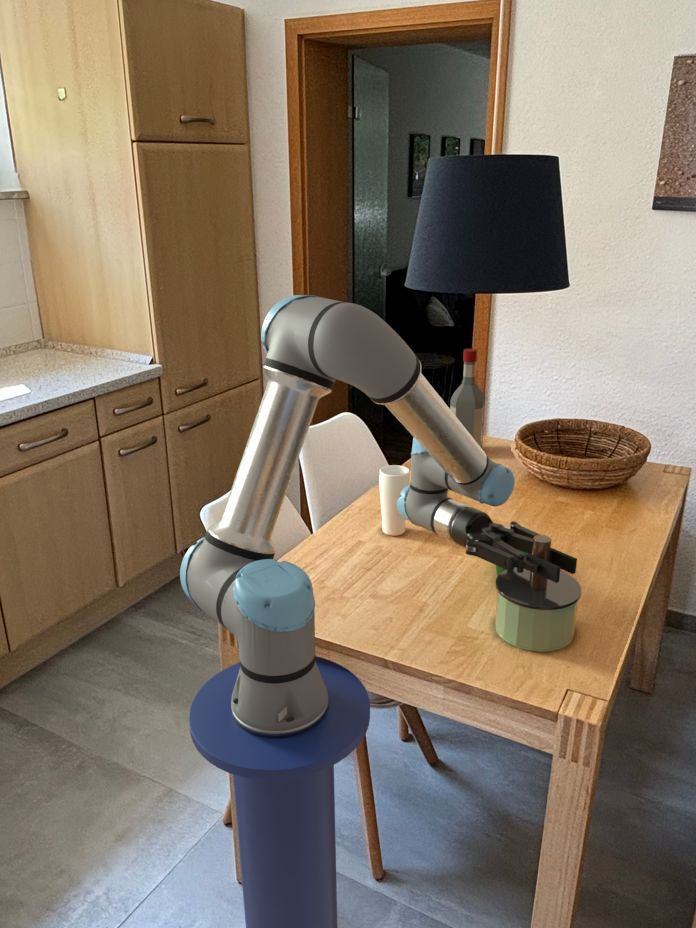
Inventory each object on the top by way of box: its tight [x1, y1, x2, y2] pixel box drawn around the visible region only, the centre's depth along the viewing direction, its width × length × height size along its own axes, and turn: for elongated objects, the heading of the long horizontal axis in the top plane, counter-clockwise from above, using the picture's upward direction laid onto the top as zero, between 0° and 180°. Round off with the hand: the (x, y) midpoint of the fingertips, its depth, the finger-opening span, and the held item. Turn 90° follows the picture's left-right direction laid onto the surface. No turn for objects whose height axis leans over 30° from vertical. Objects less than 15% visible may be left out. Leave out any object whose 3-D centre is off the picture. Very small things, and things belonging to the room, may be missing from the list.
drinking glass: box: [378, 464, 411, 537], centre depth 173 cm, size 7×7×15 cm
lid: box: [495, 534, 582, 610], centre depth 133 cm, size 15×15×10 cm
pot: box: [494, 590, 579, 653], centre depth 136 cm, size 14×14×8 cm
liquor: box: [449, 348, 486, 449], centre depth 219 cm, size 9×9×30 cm
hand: (566, 570), depth 129 cm, fingers open, 4 cm apart
